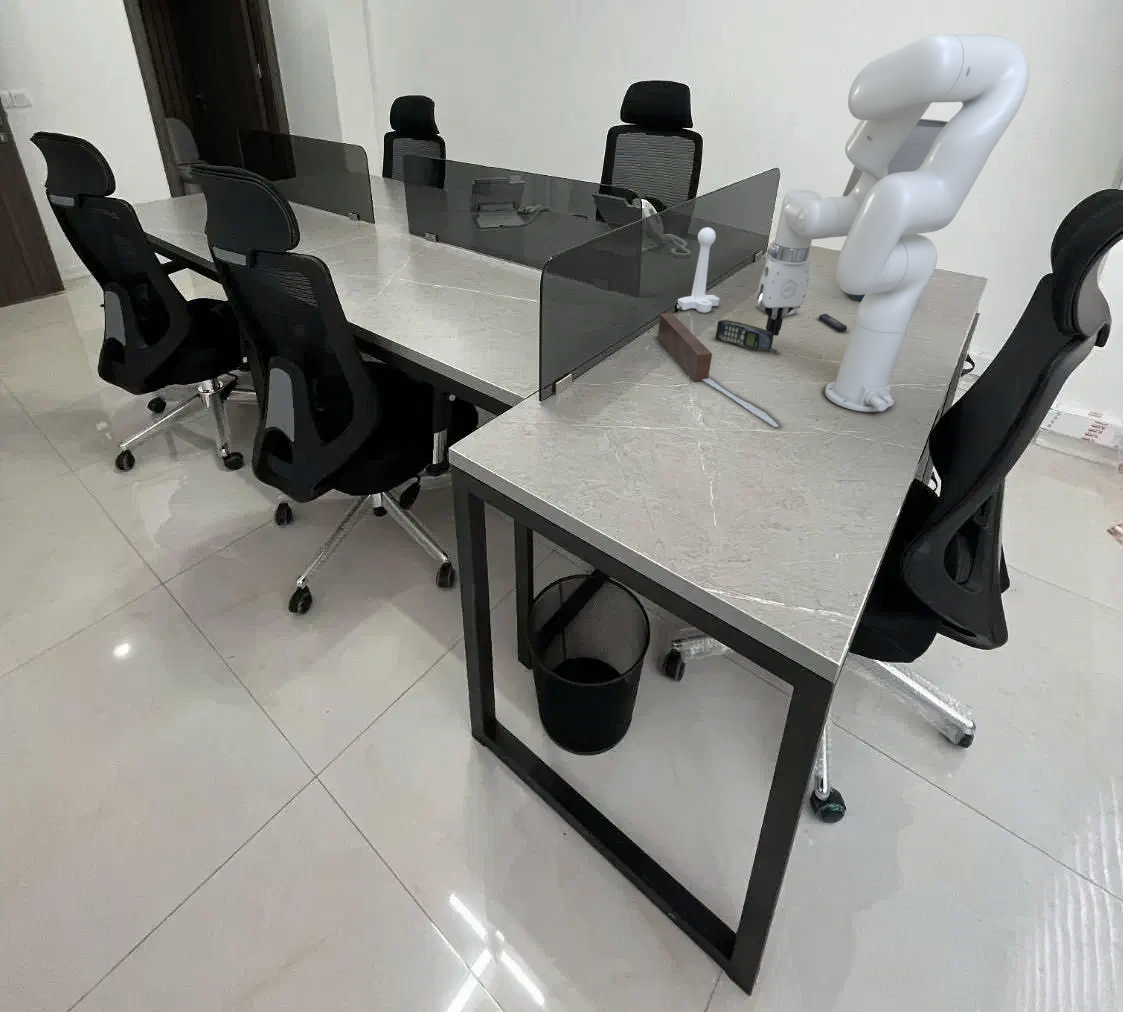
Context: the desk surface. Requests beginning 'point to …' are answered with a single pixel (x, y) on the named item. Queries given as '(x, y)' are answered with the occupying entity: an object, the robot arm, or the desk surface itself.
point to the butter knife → (742, 403)
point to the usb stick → (833, 322)
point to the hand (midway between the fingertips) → (772, 333)
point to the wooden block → (684, 347)
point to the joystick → (701, 277)
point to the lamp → (905, 156)
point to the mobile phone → (745, 335)
